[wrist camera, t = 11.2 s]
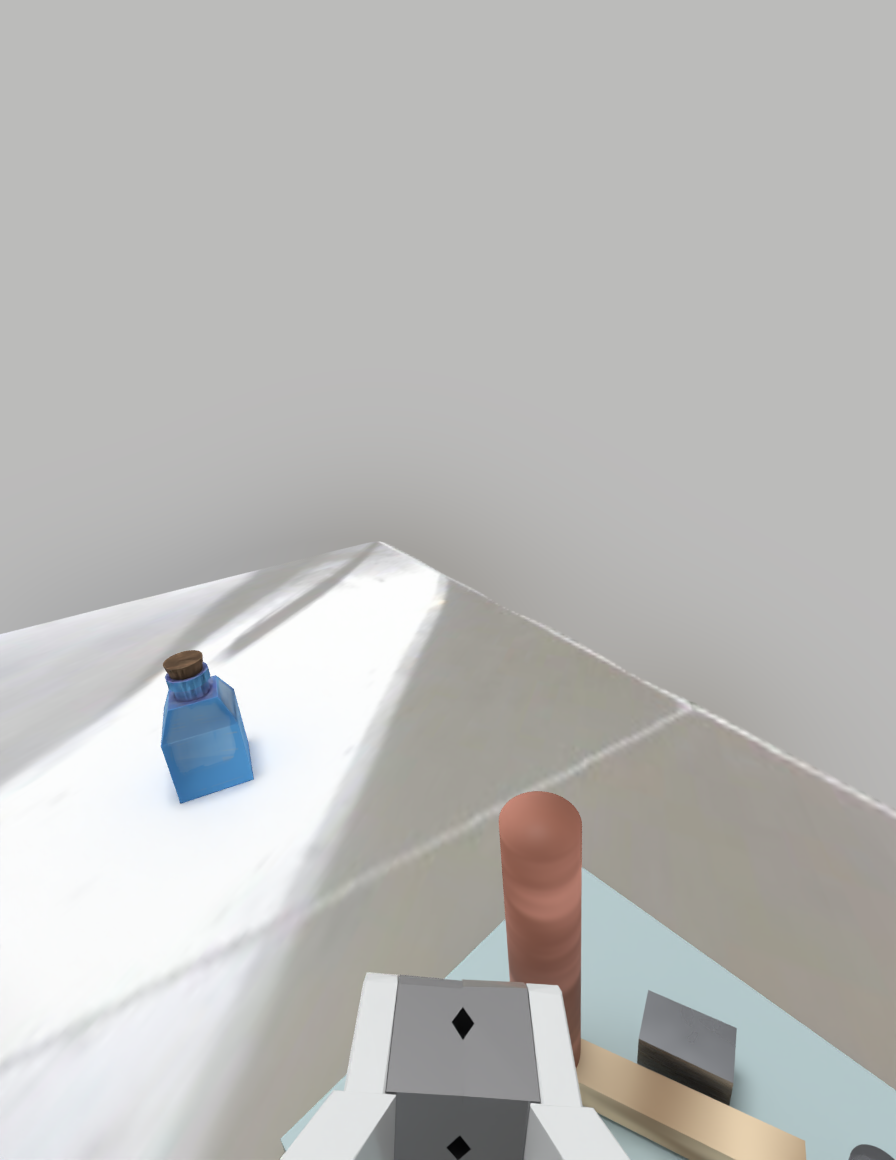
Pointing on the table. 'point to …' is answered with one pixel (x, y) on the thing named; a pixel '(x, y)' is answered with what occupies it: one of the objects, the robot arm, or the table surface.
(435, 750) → the table surface
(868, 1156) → the hinge pin
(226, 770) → the perfume bottle
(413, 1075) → the robot arm
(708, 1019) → the block
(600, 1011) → the board
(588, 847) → the table surface
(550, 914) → the brown piece
